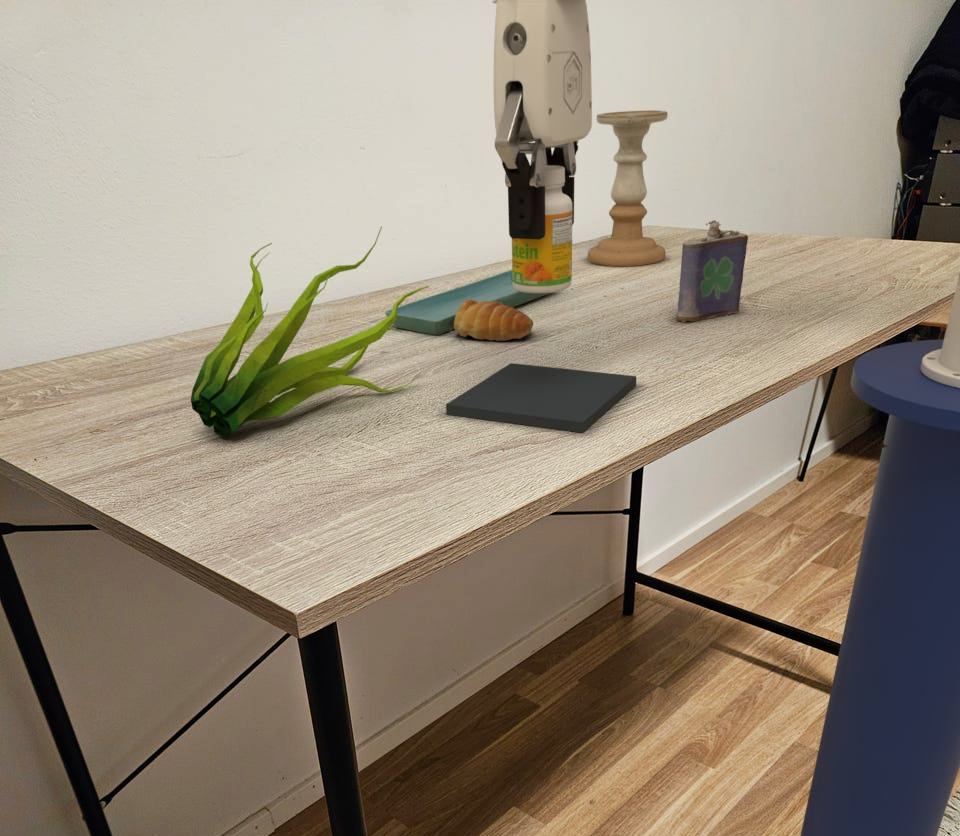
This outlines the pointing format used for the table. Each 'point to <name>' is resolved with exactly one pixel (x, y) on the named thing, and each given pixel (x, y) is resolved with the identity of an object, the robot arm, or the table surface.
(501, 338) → the pastry
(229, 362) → the decorative plant
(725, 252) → the flask
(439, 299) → the teal serving tray
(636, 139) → the candle holder
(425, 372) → the table surface
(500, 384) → the mat
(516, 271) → the supplement bottle
